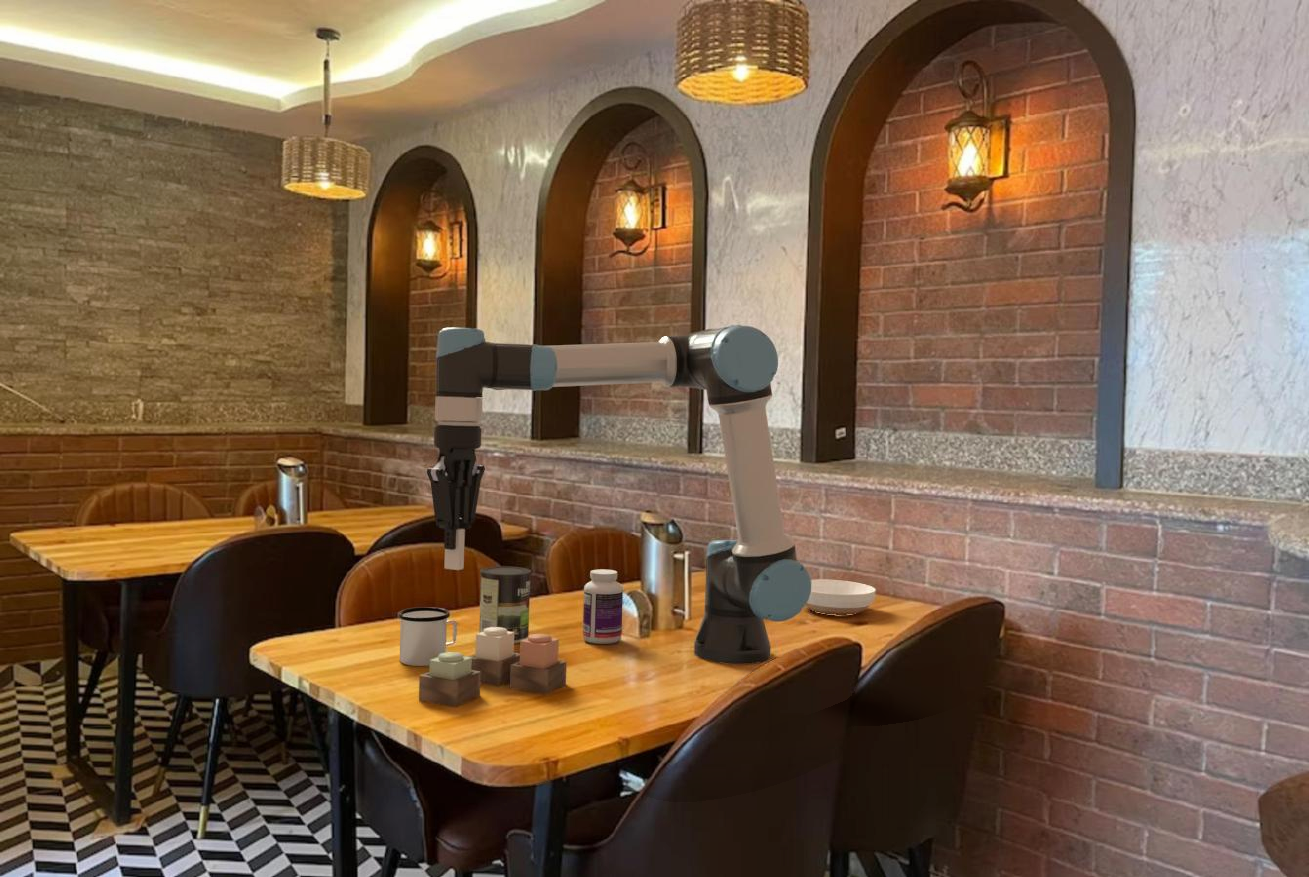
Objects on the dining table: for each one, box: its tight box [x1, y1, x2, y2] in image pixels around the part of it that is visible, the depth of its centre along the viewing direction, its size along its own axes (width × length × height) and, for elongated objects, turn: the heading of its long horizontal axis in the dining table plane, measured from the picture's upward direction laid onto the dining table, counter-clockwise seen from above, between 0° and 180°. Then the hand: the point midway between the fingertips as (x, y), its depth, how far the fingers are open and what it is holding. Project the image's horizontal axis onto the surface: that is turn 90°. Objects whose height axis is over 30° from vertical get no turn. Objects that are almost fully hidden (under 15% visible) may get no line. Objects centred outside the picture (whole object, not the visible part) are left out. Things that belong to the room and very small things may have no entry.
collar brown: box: [509, 659, 567, 696], centre depth 167 cm, size 7×7×4 cm
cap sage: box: [428, 651, 472, 680], centre depth 158 cm, size 5×5×7 cm
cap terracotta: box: [519, 633, 560, 669], centre depth 167 cm, size 5×5×7 cm
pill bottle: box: [582, 568, 624, 645], centre depth 200 cm, size 8×8×14 cm
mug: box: [397, 606, 458, 667], centre depth 181 cm, size 12×10×9 cm
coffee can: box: [478, 565, 532, 645], centre depth 199 cm, size 10×10×14 cm
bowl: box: [804, 578, 877, 615], centre depth 238 cm, size 20×20×6 cm
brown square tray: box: [418, 670, 481, 708], centre depth 158 cm, size 7×7×4 cm
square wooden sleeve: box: [468, 652, 520, 687], centre depth 170 cm, size 7×7×4 cm
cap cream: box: [474, 627, 515, 662], centre depth 170 cm, size 5×5×7 cm
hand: (453, 568), depth 158 cm, fingers closed
